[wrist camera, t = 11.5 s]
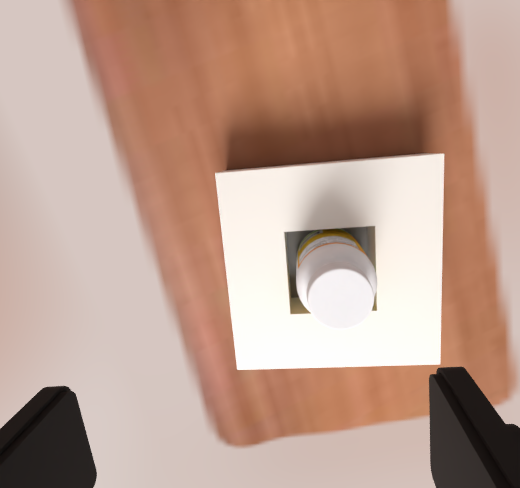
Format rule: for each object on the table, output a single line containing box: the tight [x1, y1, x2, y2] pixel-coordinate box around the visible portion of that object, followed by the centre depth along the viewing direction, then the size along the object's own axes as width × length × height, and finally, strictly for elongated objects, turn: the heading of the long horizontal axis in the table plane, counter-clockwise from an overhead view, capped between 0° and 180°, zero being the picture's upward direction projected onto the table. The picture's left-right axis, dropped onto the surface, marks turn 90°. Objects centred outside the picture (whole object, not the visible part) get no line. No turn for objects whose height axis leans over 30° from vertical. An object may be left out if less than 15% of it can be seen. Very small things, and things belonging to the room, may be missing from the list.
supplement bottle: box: [296, 228, 377, 330], centre depth 28 cm, size 5×5×10 cm
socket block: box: [215, 153, 444, 370], centre depth 31 cm, size 16×16×4 cm
